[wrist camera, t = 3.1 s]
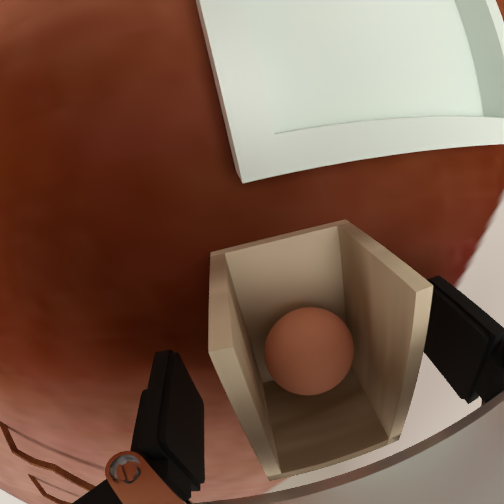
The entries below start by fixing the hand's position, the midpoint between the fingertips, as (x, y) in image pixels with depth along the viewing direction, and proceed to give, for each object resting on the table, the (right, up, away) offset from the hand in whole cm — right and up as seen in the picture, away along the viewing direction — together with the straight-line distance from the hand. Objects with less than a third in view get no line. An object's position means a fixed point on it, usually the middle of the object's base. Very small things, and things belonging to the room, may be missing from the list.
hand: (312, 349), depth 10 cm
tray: (+1, +15, -4) cm, 16 cm away
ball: (0, 0, +2) cm, 2 cm away
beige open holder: (0, +1, +2) cm, 2 cm away
